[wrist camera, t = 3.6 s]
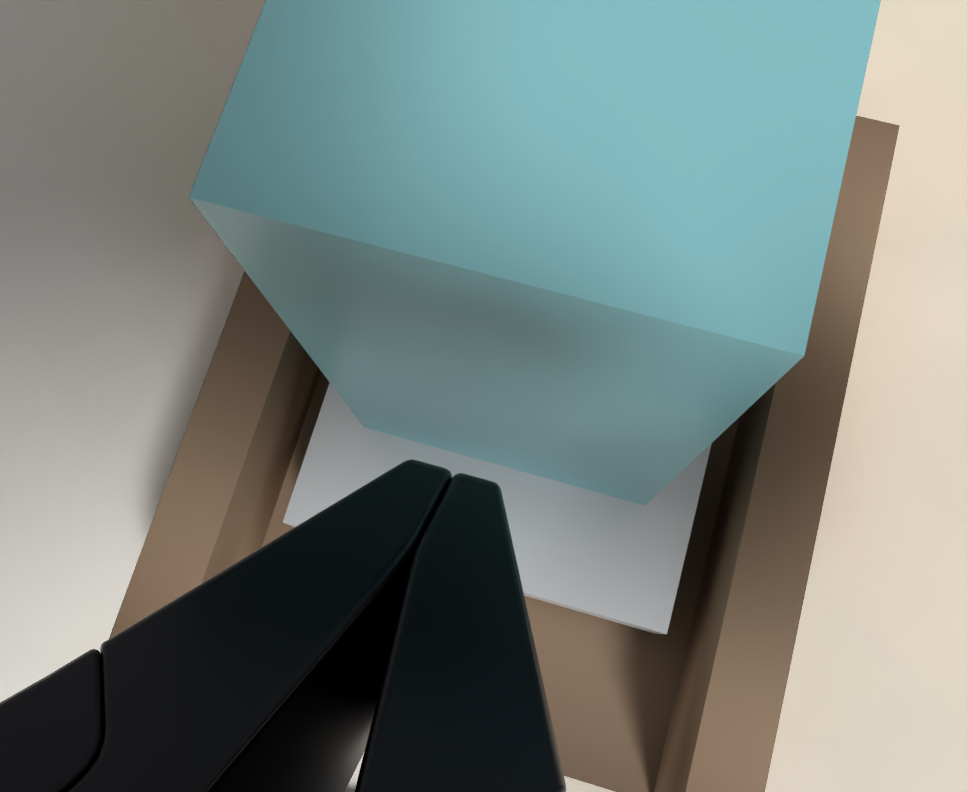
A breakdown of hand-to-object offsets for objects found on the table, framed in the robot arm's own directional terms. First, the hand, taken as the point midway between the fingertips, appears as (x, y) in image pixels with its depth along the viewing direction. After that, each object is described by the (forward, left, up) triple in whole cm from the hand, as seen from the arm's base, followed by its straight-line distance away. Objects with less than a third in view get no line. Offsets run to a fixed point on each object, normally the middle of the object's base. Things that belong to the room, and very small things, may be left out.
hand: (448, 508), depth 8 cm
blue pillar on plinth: (+3, +2, -8) cm, 8 cm away
